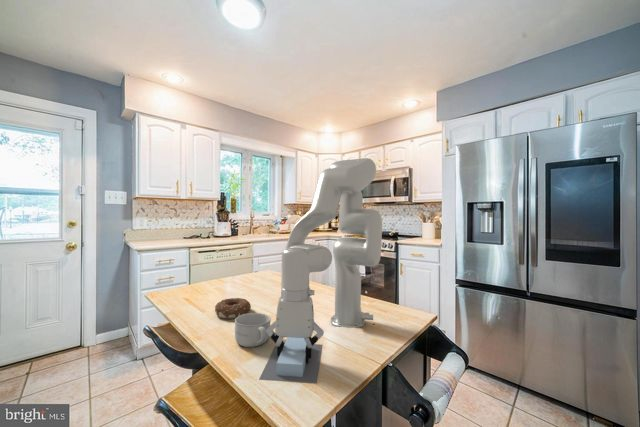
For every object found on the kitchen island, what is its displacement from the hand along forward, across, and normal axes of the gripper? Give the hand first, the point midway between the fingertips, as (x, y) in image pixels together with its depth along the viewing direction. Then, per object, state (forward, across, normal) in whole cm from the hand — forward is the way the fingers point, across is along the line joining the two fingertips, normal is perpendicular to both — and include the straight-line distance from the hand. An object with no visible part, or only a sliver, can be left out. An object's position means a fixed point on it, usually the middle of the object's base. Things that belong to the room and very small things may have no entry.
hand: (294, 358), depth 72 cm
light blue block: (0, 0, 0) cm, 0 cm away
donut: (+2, +30, -32) cm, 44 cm away
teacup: (+2, +14, -8) cm, 16 cm away
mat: (+1, 0, 0) cm, 1 cm away
